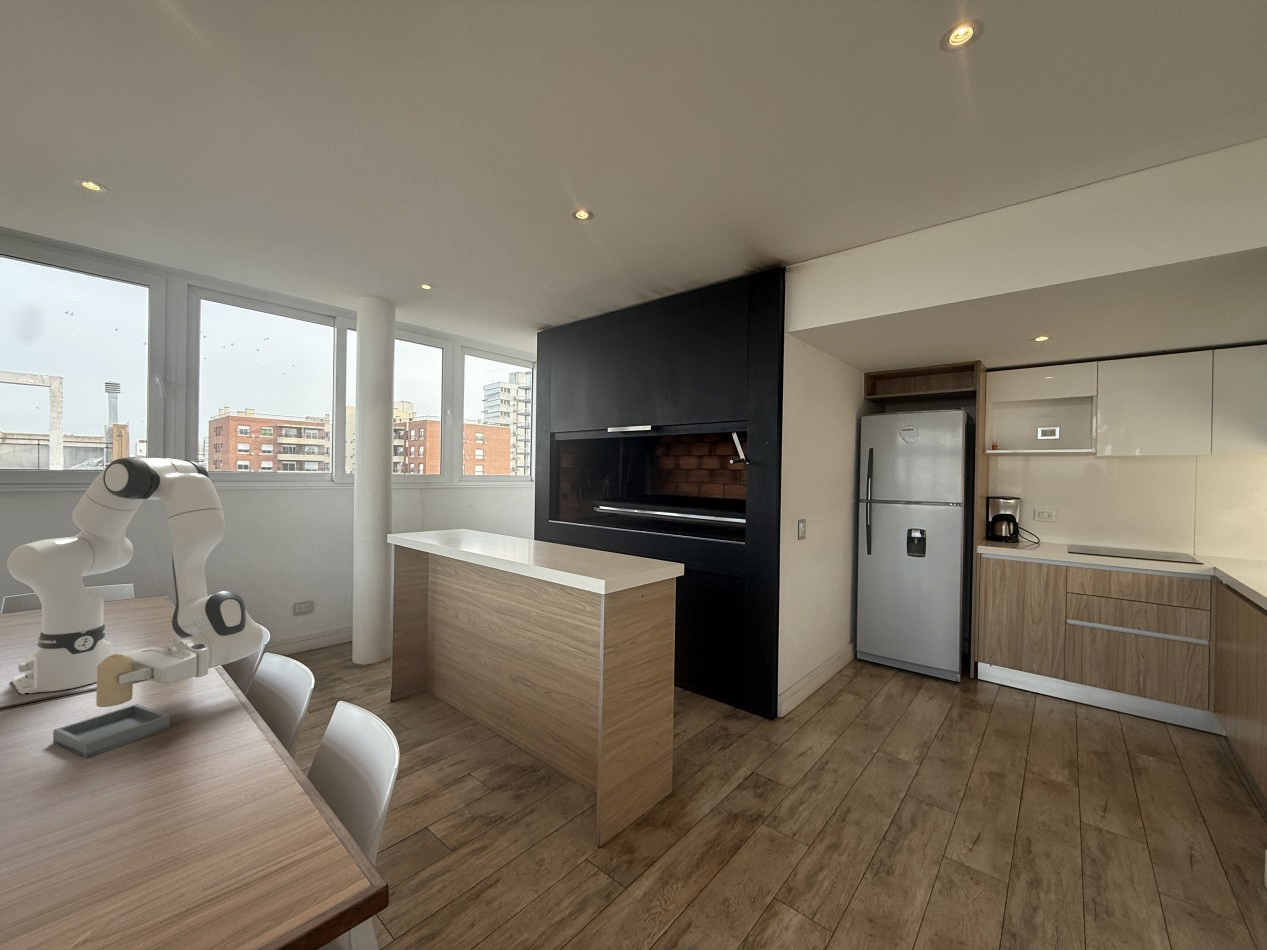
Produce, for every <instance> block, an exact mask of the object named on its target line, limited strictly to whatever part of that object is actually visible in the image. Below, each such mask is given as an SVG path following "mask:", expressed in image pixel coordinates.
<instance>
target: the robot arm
mask: <svg viewBox="0 0 1267 950" xmlns="http://www.w3.org/2000/svg"><path fill="white" fill-rule="evenodd" d="M144 500H148V501H149V500H151V501H154V500H155V501H159V500H160V501H161V502H163V504H164V506H165V510H166V515H167V516H166V517H167V520H168V526H169V532H170V538H171V564H172V565H171V566H172V574H173V585H174V593H175V594H174V595H175V607H174V611H173V615H172V618H171V626H172V628H173V631H174V632H175V634H176V635H177V636H178V637H180V638H178V639H175V640H173V641H172V642H171V643H170V644H169V646H167V647H166V648H164V647H160V646H151V647H144V648H141V649H140V648H139V649H134V650H130V651H125V652H120V653H118V655H124V656H128V657H130V658H132V659H133V672H125V673H122V674H119V675H117V682H119V683H121V684H123V683H126V682H130V681H133V682H137V681H145V680H147V681H148V680H149V681H152V682H155V683H157V684H161V685H163V684H164V685H165V684H172V683H176V682H181V681H184V680H187V679H191V678H201V677H205V676H208V675H209V669H210V668H212V667H214V666H220V665H222V666H223V665H227V664H230V663H233V662H236V661H239V660H241V659H244V658H247V657H249V656H250V655H252V654H254V653H256V652H257V651H258V649H260V647H261V645H262V642H263V638H264V633H263V629H262V626H261V625H260V624H259V623H258V622H256V621H254V620H253V619H252V617H250V615H249V613H248V611H247V609H246V604H245V601H244V599H243V598H242V597H241V596H240V595H239V594H238V593H236V592H233V591H231V590H230V591H229V590H222V591H218V592H216V593H213V594H210V595H208V589H207V580H206V573H205V566H206V561H207V559H208V557H209V555H210V554H211V553H212V551H213V550H214V548H215V547H216V546H217V545H218V544H219V543H220V542H221V541H222V540H223V537H224V536H225V533H226V532H225V531H226V519H225V515H224V510H223V506H222V503H221V500H220V497H219V495H218V492H217V490H216V487H215V485H214V484H213V482H212V480H211V479H210V476H209V472H208V471H207V468H206V467H204V466H203V465H202V464H200V463H199V462H195V461H191V460H186V459H185V460H181V459H176V458H175V459H174V458H167V457H158V458H157V457H137V456H132V457H130V456H129V457H121V458H118V459H115V460H113V461H111V462H110V463H109V464H108V465H107V466H106V467H105V468H104V469H103V470H102V471H101V472H100V473H99V474H98V475H97V477H95V479H94V480H93V481H92V482H91V484H90V485H89V486H88V488H87V490H86V491H85V492H84V494H83V496H82V497H81V498H80V500H79V501H78V503H77V505H76V506H75V508H74V509H73V511H72V514H71V518H72V521H73V523H74V525H75V526H76V527H77V528H79V529H80V532H78V533H77V534H76V535H74V536H68V537H67V536H66V537H56V538H49V539H46V538H45V539H41V540H36V541H33V542H29V543H25V544H23V545H20V546H17V547H16V548H15V549H12V552H11V553H10V554H9V556H8V558H7V561H6V566H7V571H8V573H9V574H10V575H11V577H12V578H14V579H15V580H17V581H18V582H20V583H23V584H25V585H27V586H29V587H30V588H31V589H32V590H33V591H34V592H35V594H36V595H37V597H38V599H39V602H40V605H41V611H42V612H41V614H42V615H41V616H42V631H41V632H40V633H39V637H38V639H37V640H38V641H37V646H38V647H37V648H36V649H35V650H34V651H33V652H32V653H31V654H30V655H29V656H28V657H26V658H25V662H21V663H19V664H18V672H19V673H22V674H19V675H15V676H14V677H12V679H11V682H13V683H12V684H13V686H14V685H15V686H14V687H15V689H16V690H18V691H17V692H18V694H19V693H21V694H20V695H26V694H25V693H29V694H34V693H42V692H43V693H46V692H55V691H56V692H57V691H62V690H63V691H64V690H68V689H74V688H78V687H83V686H87V685H89V684H90V685H91V684H94V683H97V665H98V664H99V663H101V662H102V661H103V660H104V659H105V658H106V657H108V656H111V655H113V654H112V653H113V652H112V644H111V642H109V641H107V640H105V638H106V625H105V624H104V597H103V596H102V595H101V594H100V593H98V592H96V591H93V590H90V589H87V588H86V587H85V584H84V581H83V577H86V576H91V575H92V576H93V575H98V574H103V573H108V572H111V571H114V570H116V569H119V568H122V567H124V566H127V565H128V564H129V563H130V561H131V560H132V558H133V555H134V547H133V544H132V542H131V540H129V538H128V537H126V532H127V528H128V525H129V524H130V523H131V521H132V519H133V517H134V516H135V515H136V513H137V511H138V509H140V507H141V505H142V503H143V502H144Z"/></svg>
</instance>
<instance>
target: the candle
mask: <svg viewBox="0 0 1267 950" xmlns="http://www.w3.org/2000/svg"><path fill="white" fill-rule="evenodd" d="M125 672H133V659H132V658H130V657H128V656H124V655H119V653H118V654H117V653H114V654H112V655H111V656H108V657H106V658H105V659H104V660H103V661H102V662H101V663H99V664H98V665H97V682H96V699H95V700H96V701H95V703H96V707H99V708H107V707H108V708H109V707H115V706H119V705H122V704H125V703H127V702H130V701H131V700H132V699H133V692H134V691H133V689H134V688H133V687H134V686H133V685H134V681H130V682H126V683H123V684H121V683H119V682H117V675H119V674H122V673H125Z"/></svg>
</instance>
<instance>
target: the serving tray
mask: <svg viewBox="0 0 1267 950" xmlns="http://www.w3.org/2000/svg"><path fill="white" fill-rule="evenodd" d="M170 718H171V716H170V715H169V714H167V713H164V712H160V711H158V710H155V709H151V708H149V707H146V706H144V705H140V704H138V703H135V704H131V705H129V706H125V707H121V708H119V709H115V710H113V711H112V710H111V711H110V712H106V713H103V714H100V715H96V716H92V717H91V718H86V719H84V720H80V721H77V722H74V723H72V724H68V725H65V726H61V727H58V728H55V729H53V731H52V733H53V735H52V736H53V740H52V743H53V744H54V745H56V746H58V747H61V748H63V749H65V750H68V751H70V752H72V753H73V754H76V755H78V756H80V757H82V758H85V759H88V758H91V757H93V756H96V755H99V754H102V753H104V752H108V751H110V750H112V749H115V748H118V747H121V746H124V745H127V744H129V743H133V742H135V741H138V740H141V739H143V738H142V737H144V738H146V737H148V736H147V735H149V736H151V735H150V734H152V735H154V733H155V734H157V733H159V732H163V731H165V729H166V730H168V729H170V722H171V721H170V720H171V719H170ZM145 736H146V737H145ZM140 738H141V739H140ZM137 739H138V740H137ZM134 740H135V741H134ZM132 741H133V742H132Z"/></svg>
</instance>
